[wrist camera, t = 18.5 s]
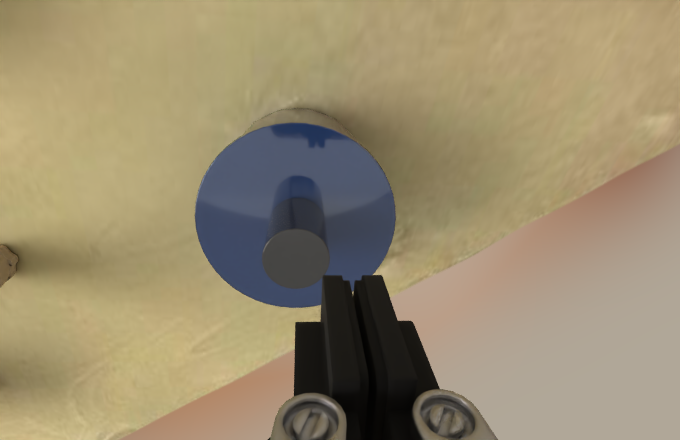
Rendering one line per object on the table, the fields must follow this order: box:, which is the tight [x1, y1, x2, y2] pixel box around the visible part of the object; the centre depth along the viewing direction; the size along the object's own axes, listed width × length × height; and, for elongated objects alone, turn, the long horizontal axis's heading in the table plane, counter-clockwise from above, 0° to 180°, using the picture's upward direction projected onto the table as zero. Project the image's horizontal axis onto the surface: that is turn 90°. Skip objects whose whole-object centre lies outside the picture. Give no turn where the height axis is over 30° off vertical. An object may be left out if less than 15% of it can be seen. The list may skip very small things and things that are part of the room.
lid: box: [195, 121, 396, 308], centre depth 25 cm, size 13×13×6 cm
